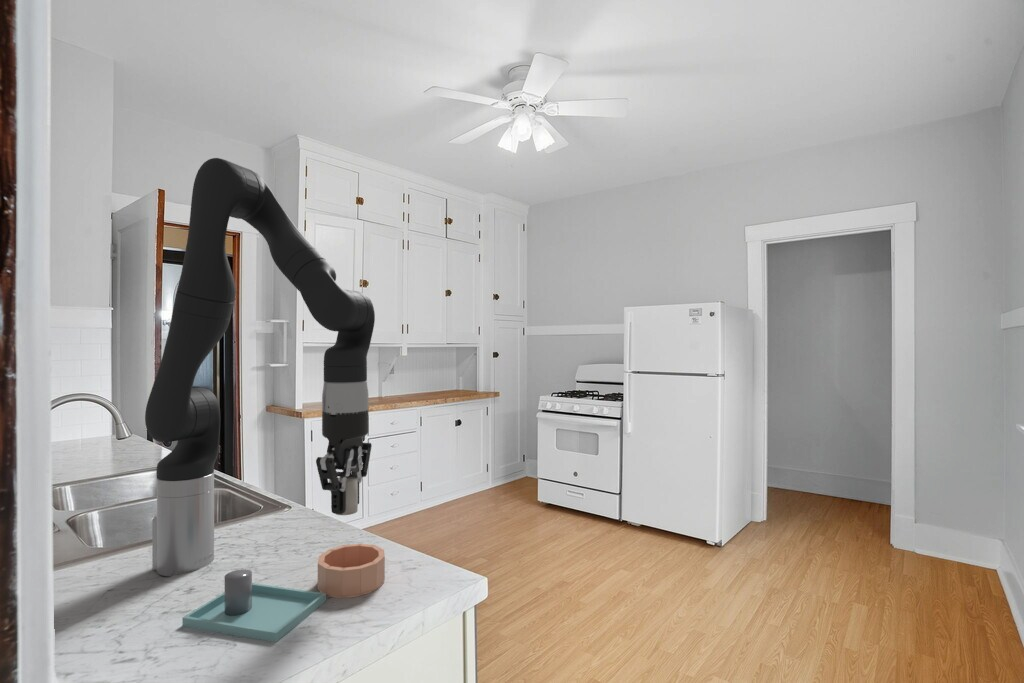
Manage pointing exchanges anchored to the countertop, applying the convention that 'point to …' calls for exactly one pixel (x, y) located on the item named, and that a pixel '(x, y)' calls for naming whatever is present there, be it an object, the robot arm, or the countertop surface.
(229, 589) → the grey rounded cylinder
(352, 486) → the beige rounded cylinder
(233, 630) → the tray
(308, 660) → the countertop surface
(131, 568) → the countertop surface
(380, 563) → the bowl
